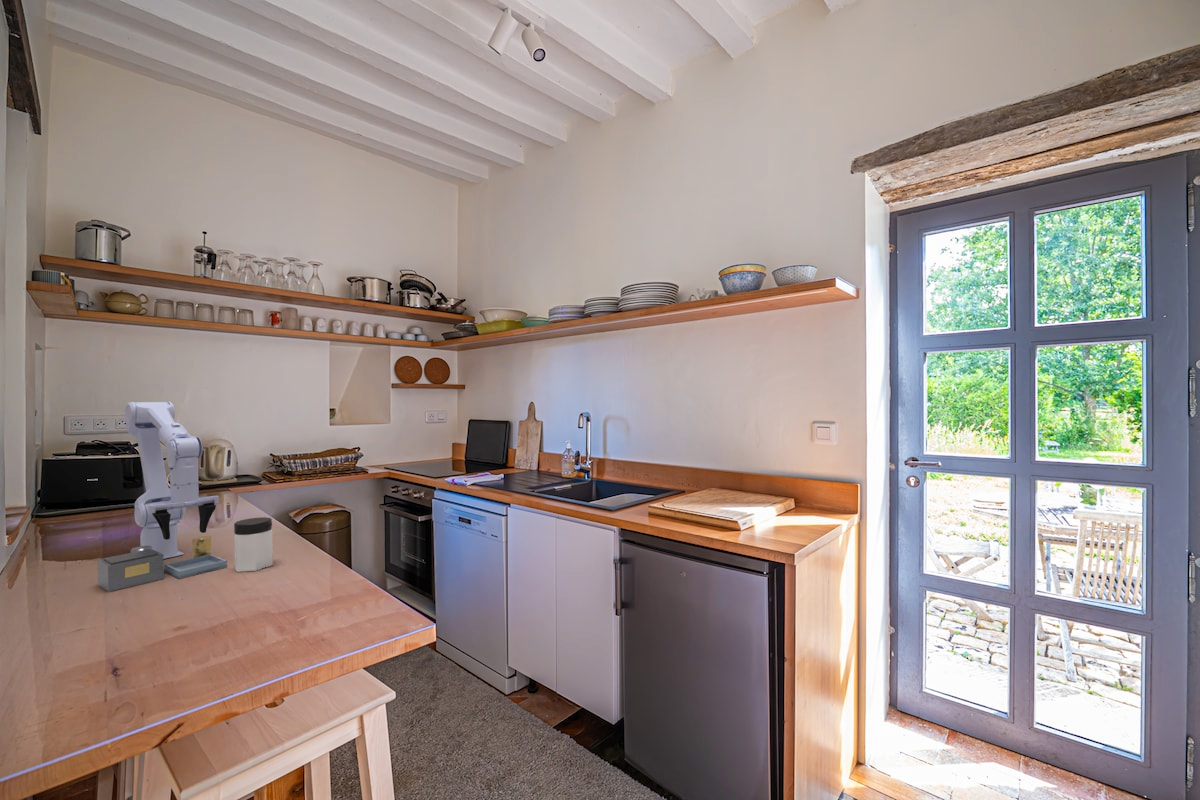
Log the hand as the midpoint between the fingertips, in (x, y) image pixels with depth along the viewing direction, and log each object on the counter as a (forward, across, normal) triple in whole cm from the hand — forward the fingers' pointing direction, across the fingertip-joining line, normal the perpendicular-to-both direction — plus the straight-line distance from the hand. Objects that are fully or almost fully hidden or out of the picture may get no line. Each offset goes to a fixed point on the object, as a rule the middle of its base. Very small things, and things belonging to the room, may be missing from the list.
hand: (185, 535), depth 133 cm
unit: (+8, -11, -2) cm, 14 cm away
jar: (+8, +10, -15) cm, 20 cm away
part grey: (+8, -7, +6) cm, 13 cm away
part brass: (+8, +5, +3) cm, 10 cm away
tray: (+8, +1, -5) cm, 10 cm away
